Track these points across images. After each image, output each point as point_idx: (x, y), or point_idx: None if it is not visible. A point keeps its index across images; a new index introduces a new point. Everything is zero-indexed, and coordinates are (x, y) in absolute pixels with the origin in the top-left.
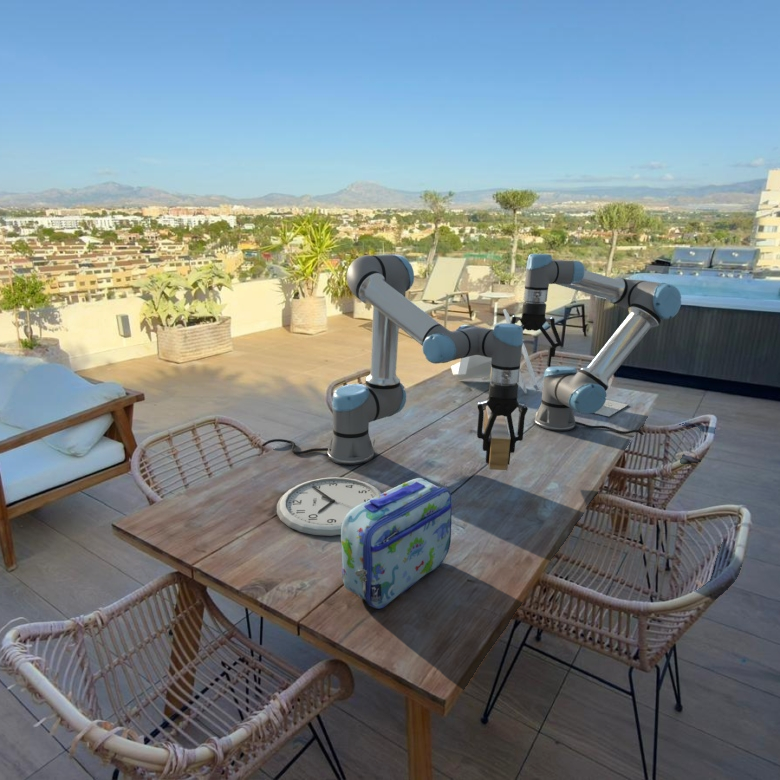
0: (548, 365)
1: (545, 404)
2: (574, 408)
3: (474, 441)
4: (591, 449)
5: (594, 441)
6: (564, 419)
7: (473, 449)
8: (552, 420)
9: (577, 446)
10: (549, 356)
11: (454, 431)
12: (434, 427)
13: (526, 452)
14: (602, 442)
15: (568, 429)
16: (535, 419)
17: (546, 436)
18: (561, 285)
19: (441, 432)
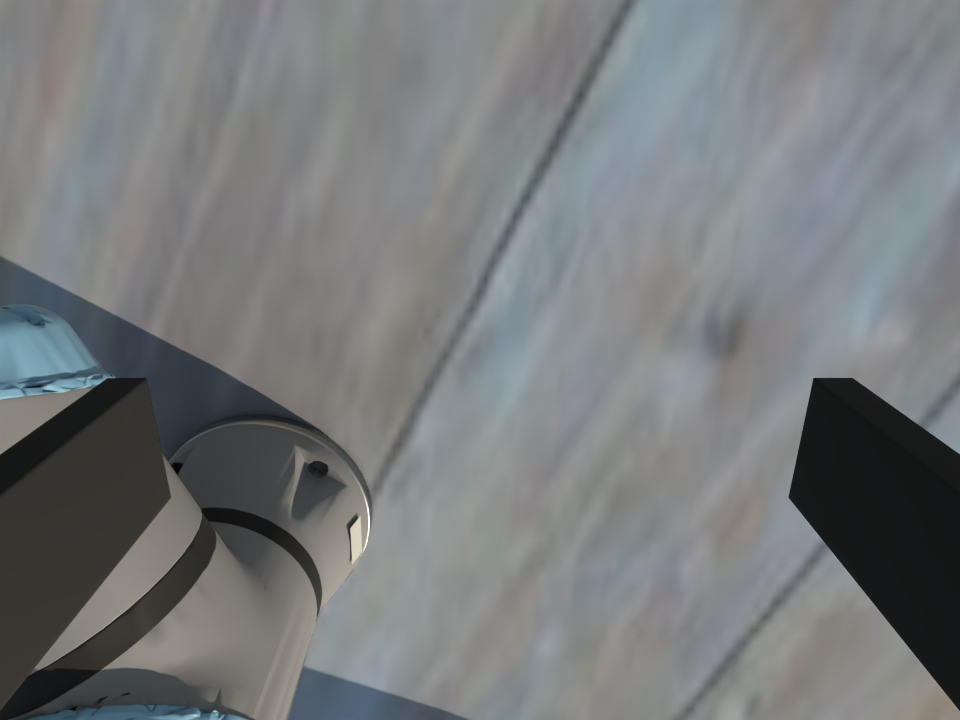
0: (128, 388)
1: (299, 546)
2: (80, 339)
3: (738, 190)
4: (80, 185)
5: (64, 306)
6: (202, 461)
7: (766, 61)
8: (273, 453)
9: (157, 217)
10: (13, 474)
11: (827, 320)
12: (930, 360)
13: (454, 70)
14: (21, 300)
15: (197, 432)
16: (366, 511)
17: (321, 334)
18: None
19: (905, 294)
